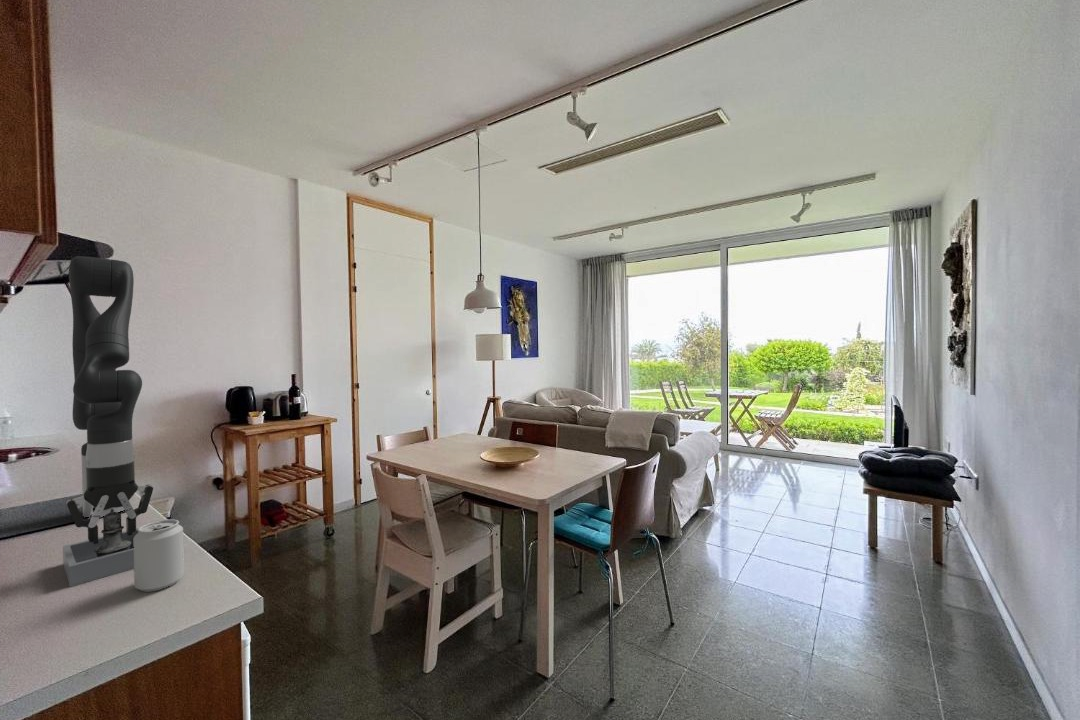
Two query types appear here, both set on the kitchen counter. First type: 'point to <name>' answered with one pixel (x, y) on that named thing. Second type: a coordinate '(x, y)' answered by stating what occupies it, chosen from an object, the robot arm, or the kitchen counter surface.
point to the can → (158, 555)
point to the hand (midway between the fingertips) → (112, 538)
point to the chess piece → (112, 535)
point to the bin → (95, 560)
